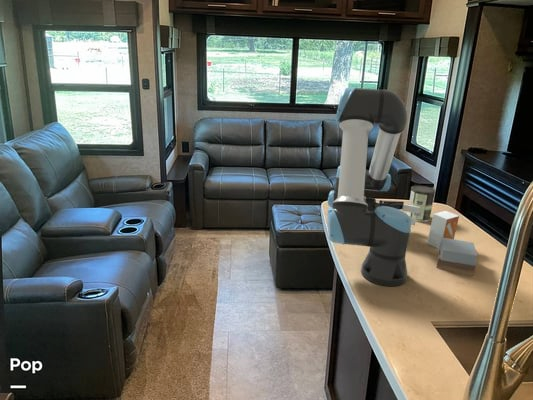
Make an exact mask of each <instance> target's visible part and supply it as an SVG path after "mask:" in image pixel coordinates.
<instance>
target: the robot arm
mask: <svg viewBox="0 0 533 400" xmlns="http://www.w3.org/2000/svg"><path fill="white" fill-rule="evenodd" d="M407 112H408V111H407V108H406V106H405V103H404V101H403V99H402V98H400V96H399V95H398V94H397V93H395V92H393V90H388V89H376V88H375V89H374V88H362V87H356V86H355V87H345V88H343V89H342V90H341V93H340V98H339V102H338V107H337V111H336V115H335V121H336V122H338V126H339V129H341V130H342V141H341V150H340V151H341V153H340V163H339V164H340V165H339V166H338V167H337V170H336V171H337V172H336V176H335V179H336V180H335V185H334V186H335V187H334V190H333V189H332V190H330V192H329V193H328V197H327V205H328V208H327V213H326V214H327V218H326V219H327V220H326V221H327V234H328V239H329V241H330V242H332V243H335V244H341V245H342V246H343V245H348V246H360V247H369V250H368V253H367V254H366V256H365V258H364V259H363V262H362V264H361V266H360V267H361V268H360V272H361V275H362V277H364V279H366V280H367V281H369V282H370V283H373V284H376V285H379V286H384V287H399V286H402V285H404V284H405V283H406V282H407V278H408V268H407V261H406V254H407V248H408V245H409V244H408V243H409V239H410V238H409V237H410V233H411V227H412V226H416V222H417V221H416V218H411V217H409V216H408V215H407V213H406V212H413V213H419V208H420V207H417V206H412V205H409V204H406V203H405V202H404V201H401V200H399V201H397V200H394V201H393V200H382V199H380V200H379V201H378V202H377V199H376V198H374V197H369V196H367V197H366V196H365V190H366V191H375V192H388V191H389V190H390V189H391V184H392V175H391V174H390V173H389V172H390V168H391V165H392V161H393V159H394V155H395V153H396V148H397V146H398V143H399V139H400V136H401V134H402V133H403V132H404V131H406V130H405V129H406V127H407V123H408V113H407ZM374 124H375V125H377V126H378V128H379V130H378V134H377V139H376V141H375V146H374V150H373V154H372V157H371V162H370V165H369V170H368V171H367V170H366V169H367V168H366V167H367V159H368V158H367V156H368V143H369V141H368V139H369V132H371V131H372V129H374V127H375V126H374Z"/></svg>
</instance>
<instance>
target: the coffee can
mask: <svg viewBox="0 0 533 400" xmlns="http://www.w3.org/2000/svg"><path fill="white" fill-rule="evenodd" d="M410 188H411V189H410V197H409V201H408V205H412V206H417V207H420V208H419V213H413V212H408V211H406V212H407V213H406V214H407V215H408V216H409V217H411V218H416V222H420V223H427V222H429V221H430V220H431V219H430V218H431V213H432V209H433V203H434V198H435V194H436V189H434V188H432V187H430V186H426V185H412V186H411V187H410Z"/></svg>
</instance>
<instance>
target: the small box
mask: <svg viewBox="0 0 533 400" xmlns="http://www.w3.org/2000/svg"><path fill="white" fill-rule="evenodd" d="M459 219H460V215H458V214H455V213H452V212H450V211H447V210H443V211H439V212H435V213H433V214H432V219H431V224H430V229H429V233H428V237H427V238H428V239H427V242H426V244H427V245H429V246H431V247H434V248H435V249H438V250H439V247H440V242H441V237H442V238H448V239H454V240H455V236H456V231H457V227H458V223H459Z"/></svg>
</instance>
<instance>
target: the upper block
mask: <svg viewBox="0 0 533 400" xmlns="http://www.w3.org/2000/svg"><path fill="white" fill-rule="evenodd" d="M440 256H441V260H444V261H449V262H455V263H461V264H466V265H471V266H475V267H476V264H477V263H476V262H477V260H478V253H477V250H476V246H475V243H474V242H471V241H467V240H466V241H465V240H460V239H455V238H454V239H448V238H442V237H441V242H440Z"/></svg>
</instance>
